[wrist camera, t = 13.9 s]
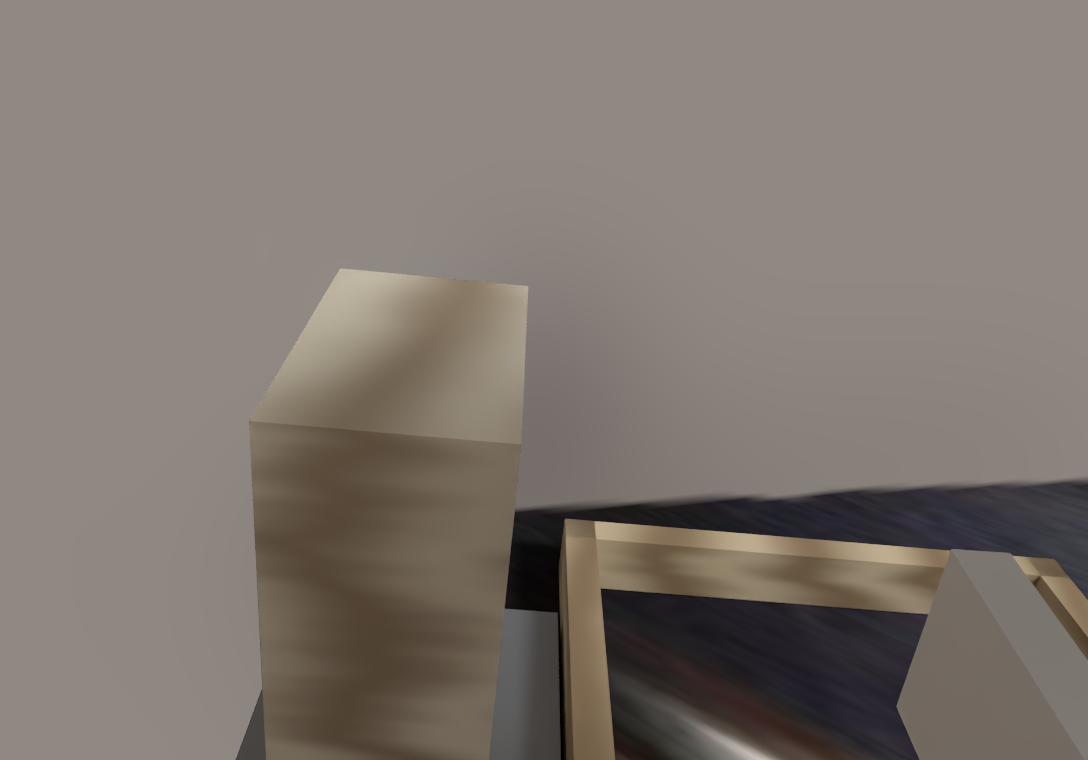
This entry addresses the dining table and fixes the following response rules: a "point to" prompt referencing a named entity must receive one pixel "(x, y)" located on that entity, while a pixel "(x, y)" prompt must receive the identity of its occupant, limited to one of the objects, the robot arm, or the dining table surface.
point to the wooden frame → (739, 593)
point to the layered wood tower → (388, 518)
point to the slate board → (499, 693)
